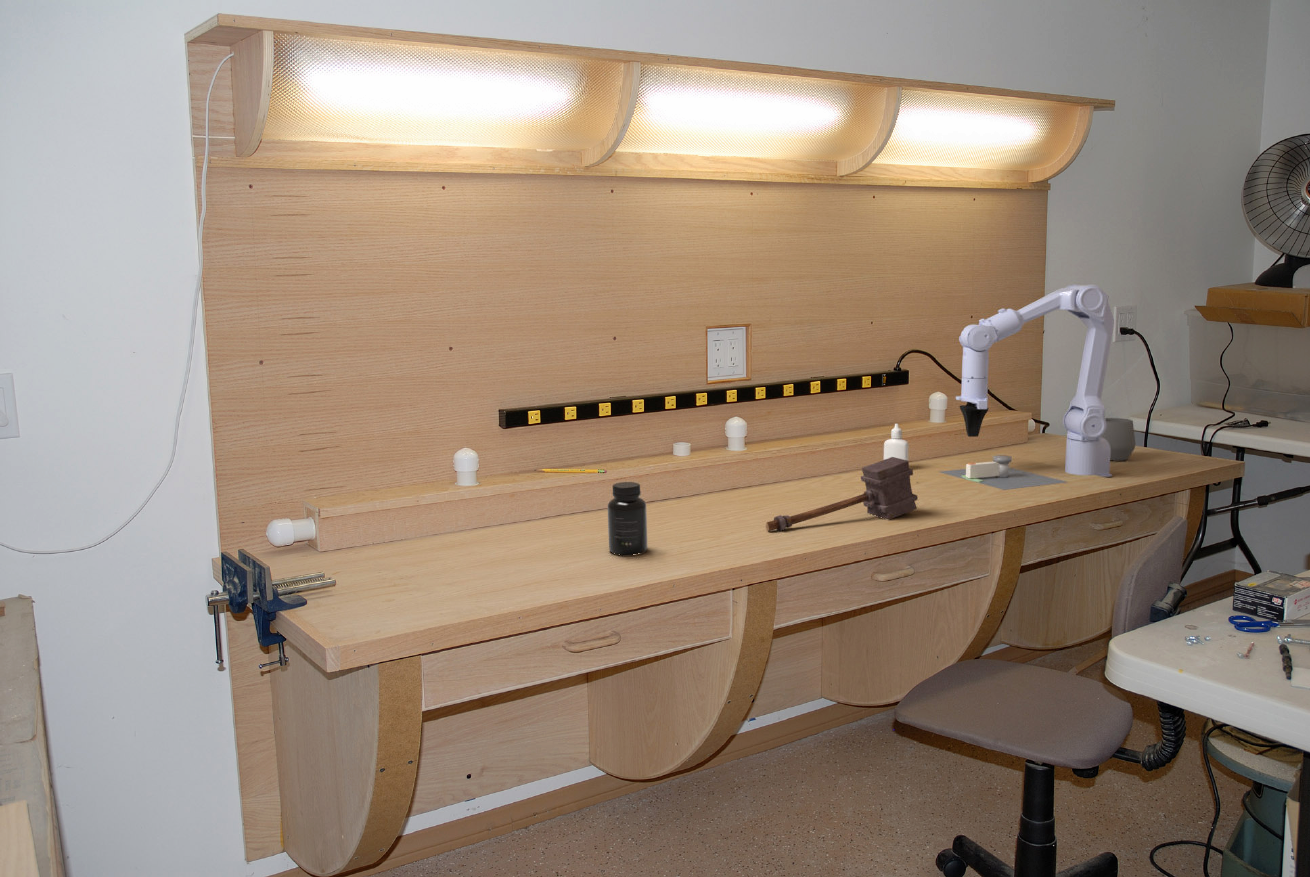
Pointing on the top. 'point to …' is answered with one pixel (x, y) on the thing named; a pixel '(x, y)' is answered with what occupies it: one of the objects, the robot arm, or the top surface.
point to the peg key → (990, 468)
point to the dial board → (1008, 479)
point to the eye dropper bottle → (896, 445)
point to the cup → (1120, 438)
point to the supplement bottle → (627, 520)
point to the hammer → (869, 495)
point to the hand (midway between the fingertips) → (972, 436)
